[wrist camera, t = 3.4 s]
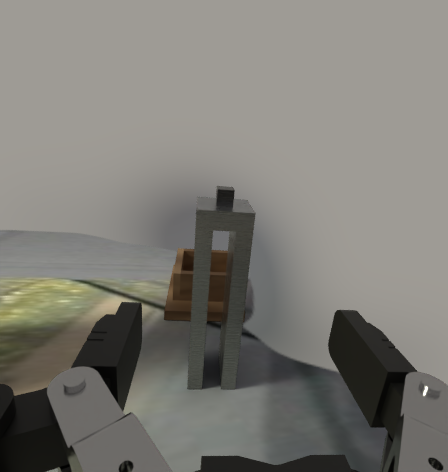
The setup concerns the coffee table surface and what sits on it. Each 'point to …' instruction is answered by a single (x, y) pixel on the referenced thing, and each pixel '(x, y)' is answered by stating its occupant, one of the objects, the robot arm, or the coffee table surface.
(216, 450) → the coffee table surface
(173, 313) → the brown open box stand
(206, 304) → the tall gray rectangular post
